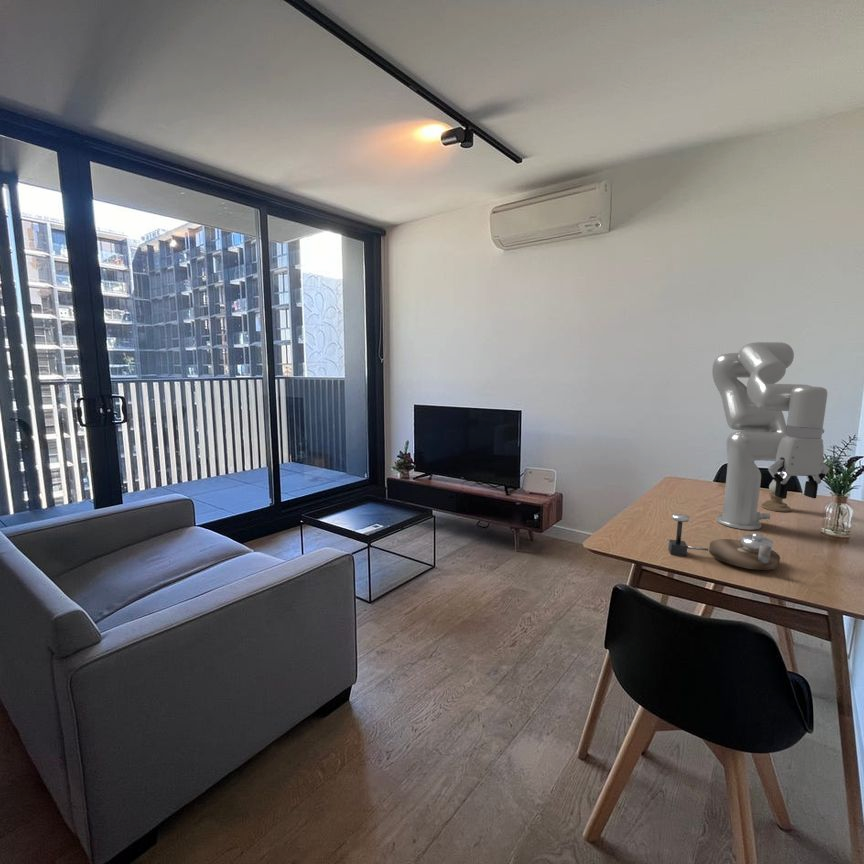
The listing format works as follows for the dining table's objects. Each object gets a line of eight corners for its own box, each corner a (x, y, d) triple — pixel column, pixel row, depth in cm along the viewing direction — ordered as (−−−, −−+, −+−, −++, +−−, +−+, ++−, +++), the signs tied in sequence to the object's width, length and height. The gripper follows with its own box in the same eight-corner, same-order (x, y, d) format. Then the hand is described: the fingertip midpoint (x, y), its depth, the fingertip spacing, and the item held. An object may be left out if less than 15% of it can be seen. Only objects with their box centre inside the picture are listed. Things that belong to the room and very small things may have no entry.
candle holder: (794, 513, 167) (801, 458, 164) (765, 510, 170) (772, 456, 167) (784, 506, 175) (791, 453, 172) (757, 503, 178) (763, 452, 175)
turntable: (748, 544, 135) (751, 525, 135) (795, 569, 120) (798, 547, 119) (696, 545, 134) (698, 526, 133) (736, 571, 118) (739, 549, 117)
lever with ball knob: (670, 554, 131) (673, 517, 129) (667, 548, 135) (670, 512, 133) (709, 559, 128) (713, 521, 126) (705, 553, 132) (709, 516, 130)
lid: (758, 544, 131) (760, 529, 130) (778, 555, 124) (780, 538, 123) (734, 545, 130) (736, 529, 129) (753, 555, 123) (755, 539, 123)
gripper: (821, 430, 127) (813, 492, 130) (761, 431, 126) (754, 493, 128) (847, 435, 120) (838, 500, 122) (784, 435, 118) (775, 501, 121)
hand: (795, 496), depth 125 cm, fingers open, 7 cm apart
